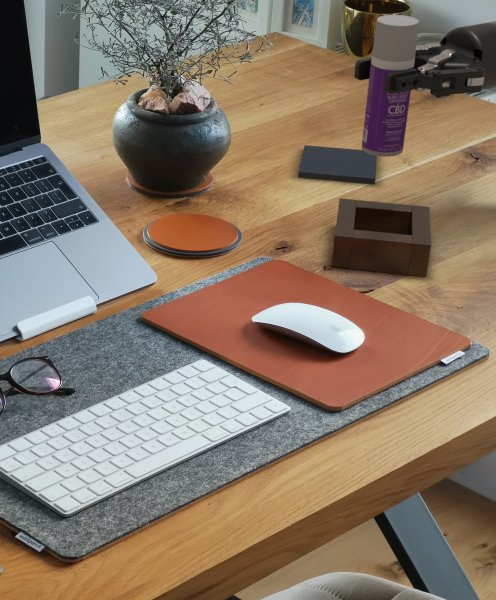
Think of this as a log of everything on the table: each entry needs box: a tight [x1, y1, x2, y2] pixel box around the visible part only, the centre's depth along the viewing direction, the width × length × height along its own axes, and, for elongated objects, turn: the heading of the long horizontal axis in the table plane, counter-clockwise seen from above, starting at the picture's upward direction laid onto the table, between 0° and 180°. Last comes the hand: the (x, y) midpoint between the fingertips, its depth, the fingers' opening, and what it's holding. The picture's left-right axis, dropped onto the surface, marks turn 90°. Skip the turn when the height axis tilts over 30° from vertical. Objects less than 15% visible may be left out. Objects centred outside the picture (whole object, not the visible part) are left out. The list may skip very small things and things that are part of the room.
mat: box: [297, 144, 378, 185], centre depth 151 cm, size 10×10×1 cm
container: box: [361, 14, 420, 158], centre depth 125 cm, size 5×5×15 cm
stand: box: [330, 197, 432, 278], centre depth 128 cm, size 10×10×4 cm
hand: (372, 77), depth 123 cm, fingers closed on container, 4 cm apart
